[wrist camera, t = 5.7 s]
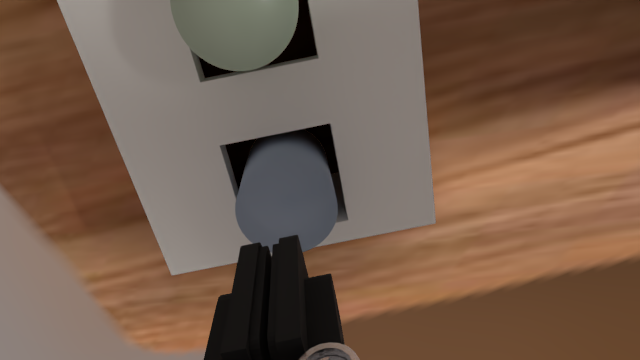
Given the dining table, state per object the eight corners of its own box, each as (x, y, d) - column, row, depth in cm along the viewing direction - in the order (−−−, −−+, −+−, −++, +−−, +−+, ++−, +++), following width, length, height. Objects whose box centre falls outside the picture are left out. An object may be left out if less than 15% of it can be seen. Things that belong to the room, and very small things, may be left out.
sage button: (285, -58, 17) (283, -80, 12) (304, 43, 18) (309, 58, 14) (189, -38, 17) (151, -52, 12) (217, 61, 18) (193, 81, 14)
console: (347, -328, 16) (377, -498, 11) (403, 174, 25) (435, 223, 20) (27, -259, 16) (-106, -390, 11) (197, 215, 25) (171, 275, 20)
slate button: (319, 118, 20) (328, 154, 15) (333, 191, 21) (345, 243, 17) (238, 134, 20) (222, 175, 15) (258, 206, 21) (250, 262, 17)
